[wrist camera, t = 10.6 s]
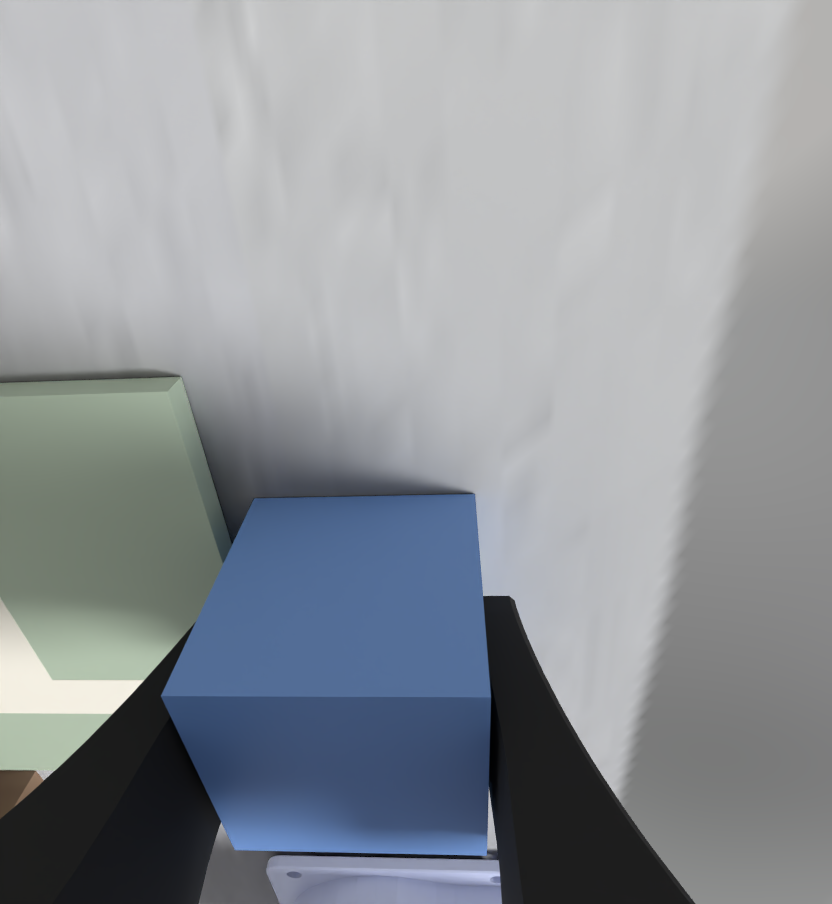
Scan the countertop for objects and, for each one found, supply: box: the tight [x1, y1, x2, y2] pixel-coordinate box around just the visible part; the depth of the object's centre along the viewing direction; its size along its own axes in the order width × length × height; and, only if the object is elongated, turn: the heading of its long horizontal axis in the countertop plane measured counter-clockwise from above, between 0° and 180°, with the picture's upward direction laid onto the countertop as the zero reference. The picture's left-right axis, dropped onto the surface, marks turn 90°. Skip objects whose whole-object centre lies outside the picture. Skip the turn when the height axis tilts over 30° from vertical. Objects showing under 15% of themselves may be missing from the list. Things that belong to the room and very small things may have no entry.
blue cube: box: [161, 494, 491, 856], centre depth 11 cm, size 4×4×4 cm
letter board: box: [0, 377, 232, 771], centre depth 13 cm, size 12×12×1 cm
